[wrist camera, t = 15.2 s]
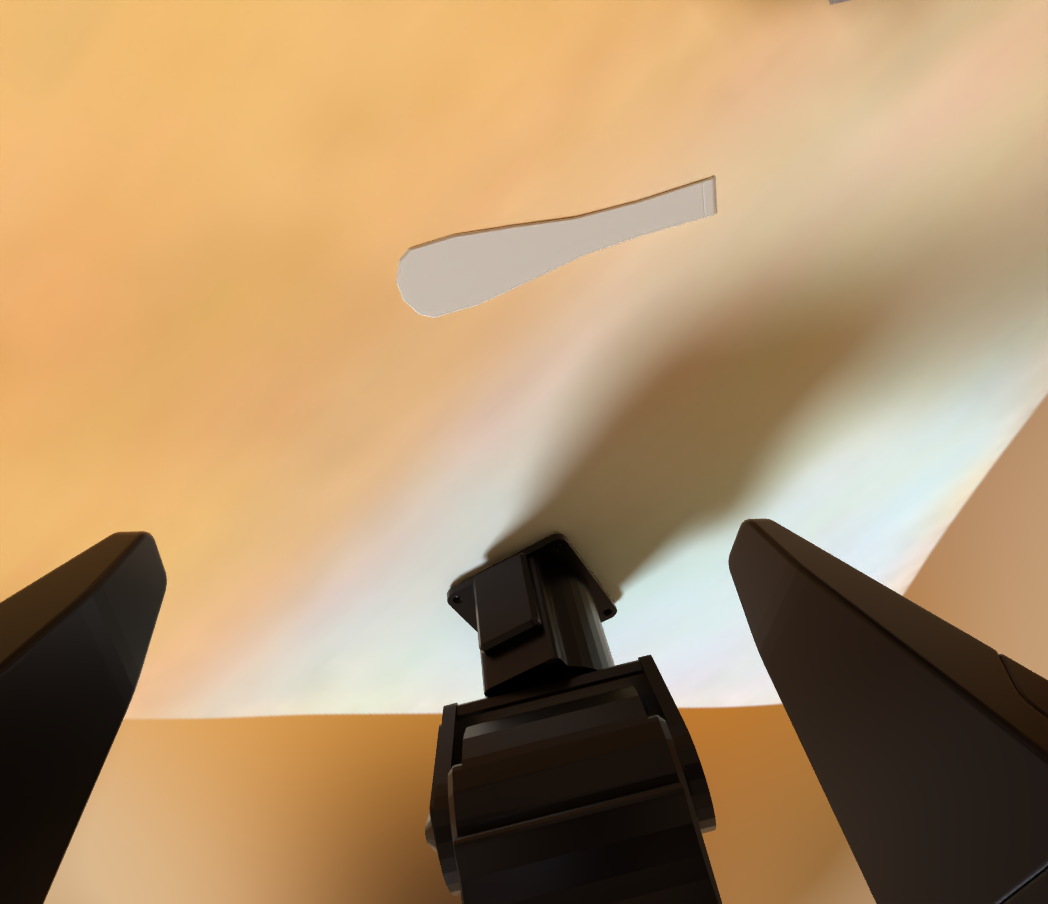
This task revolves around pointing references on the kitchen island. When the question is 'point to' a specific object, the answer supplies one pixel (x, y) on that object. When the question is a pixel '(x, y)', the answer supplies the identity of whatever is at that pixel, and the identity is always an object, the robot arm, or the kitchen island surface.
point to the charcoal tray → (836, 1)
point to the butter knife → (534, 249)
